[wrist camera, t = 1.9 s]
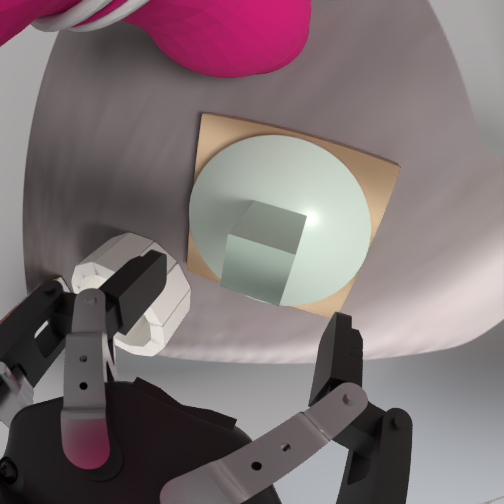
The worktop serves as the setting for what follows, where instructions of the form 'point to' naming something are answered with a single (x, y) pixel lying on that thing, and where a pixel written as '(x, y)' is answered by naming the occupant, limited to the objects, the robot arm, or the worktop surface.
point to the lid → (280, 220)
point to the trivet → (359, 162)
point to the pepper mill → (183, 28)
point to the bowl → (161, 310)
